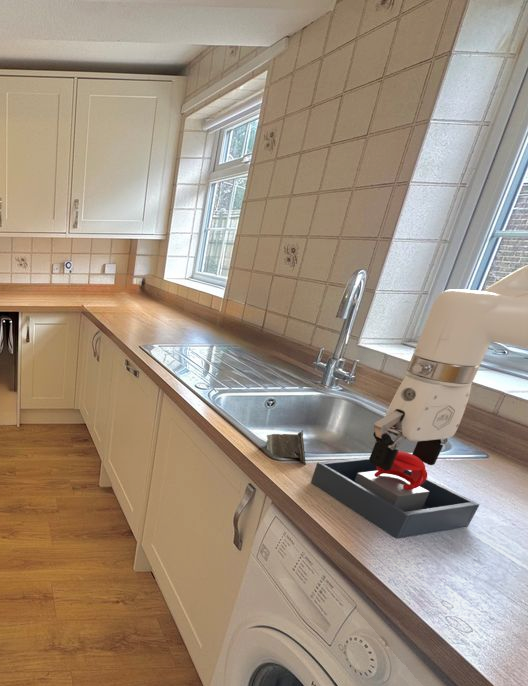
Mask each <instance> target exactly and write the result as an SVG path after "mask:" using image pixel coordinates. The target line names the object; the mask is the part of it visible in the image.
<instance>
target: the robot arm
mask: <svg viewBox="0 0 528 686" xmlns="http://www.w3.org/2000/svg"><path fill="white" fill-rule="evenodd" d="M492 343H496V344H502V345H509V346H514V347H518V348H524V349H528V264H526V265H524V266H522V267H521V268H518V269H516V270H514V271H512V272H511V273H510V274H508V275H506V276H505V277H503V278H501V279H499V280H498V281H495V282H494V283H493V284H491V285H489V286H488V287H486V288H484V289H483V290H471V289H446V290H444V291H441V292H440V293H438V294H437V296H436V297H435V298H434V300H433V304H432V305H431V307H430V310H429V313H428V315H427V318H426V320H425V323H424V326H423V327H422V331H421V333H420V335H419V339H418V341H417V343H416V346H415V348H414V351H413V354H412V355H411V358H410V361H409V364H408V366H407V369H406V371H405V374H406V375H405V377H404V378H403V379H402V381H401V383H400V384H399V386H398V388H397V390H396V392H395V393H394V396H393V398H392V400H391V402H390V404H389V406H388V408H387V411H386V413H385V416H384V417H382V418H380V419H378V420H377V421H375V422H374V424H373V429H374V431H373V434H372V435H373V437H374V439H373V442H374V446H373V448H372V451H371V453H370V455H369V457H370V458H369V462H370V463H372V464H374V465H376V466H378V467H380V468H382V469H384V470H386V471H388V470H390V469H391V467H392V465H393V462H394V460H395V458H396V455H397V453H398V451H399V449H397V448H398V446H400V445H401V444H402V443H403V442H404V441H405V440H409V441H410V442H413V443H415V442H416V444H415V446H414V449H413V451H412V453H411V454H412V455H415V456H416V457H418V458H419V459H421V460H422V461H423V463H424V464H425V465H429V466H435V464H436V463H437V460H438V458H439V456H440V454H441V452H442V450H443V447H444V445H446V444H447V443H448V441H449V438H452V437H454V436H455V434H456V433H457V430H458V428H459V426H460V424H461V422H462V419H463V416H464V414H465V411H466V407H467V405H468V401H469V399H470V395H471V390H472V384H473V382H474V379H475V377H476V375H477V373H478V371H479V369H480V367H481V364H482V362H483V360H484V358H485V355H486V353H487V352H488V350H489V347H490V345H491V344H492ZM391 435H392V436H395V438H393V439H392V437H391Z"/></svg>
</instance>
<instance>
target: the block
mask: <svg viewBox="0 0 528 686" xmlns="http://www.w3.org/2000/svg"><path fill="white" fill-rule="evenodd" d="M377 471H378V470H377ZM377 471H369V472H361V473H357V476H356V478H355V481H354V482H355V483H357V484H359V485H360V486H362V487H364V488H365V489H367V490H369V491H371V492H372V493H374V494H376V495H377V496H379V497H381V498H382V499H384V500H386V501H388V502H389V503H391V504H393V505H394V506H396V507H398V508H399V509H401V510H403V511H405V512H408V511H415V510H421V509H422V507H423V505H424V503H425V501H426V499H427V497H428V494H429V492H430V491H428V490H426V489H424V488H422V487H420V486H419V487H417V488H415V489H410V490H405V489H404V488H403V486H404V485H408V484H410V482H408V481H407V480H405V479H403V478H401V477H399V476H396V475H391V474H381V475H380V476H378V477H375V475H374V474H375V473H376V472H377Z"/></svg>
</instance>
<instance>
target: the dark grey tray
mask: <svg viewBox="0 0 528 686" xmlns="http://www.w3.org/2000/svg"><path fill="white" fill-rule="evenodd" d="M369 458H370V456H364V457H362V456H361V457H355V458H354V457H353V458H346V459H337V460H336V459H335V460H328V461H319V462H316V465H315V469H314V471H313V475H312V477H311V479H310V484H312V485H313V486H315V487H316V488H318V489H319V490H321V491H322V492H323V493H325V494H327V495H328V496H330V497H332V498H333V499H335V501H338V502H339V503H341V504H342V505H344V506H345V507H347V508H348V509H349V510H351V511H353V512H355V513H356V514H357V515H359V516H361V517H362V518H364V519H365V520H367V521H368V522H370V523H371V524H373V525H374V526H376V527H377V528H379V529H380V530H381V531H383V532H384V533H386V534H389V536H391V537H392V538H394V539H395V540H397V539H398V540H399V539H404V538H409V537H417V536H422V535H429V534H434V533H439V532H445V531H452V530H457V529H464V528H469V526H470V524H471V521H473V518H474V516H475V514H476V513H477V510H478V508H479V507H480V503H478V502H476V501H474V500H472V499H470V498H468V497H466V496H464V495H462V494H459V493H458V492H455V491H453V490H452V489H450V488H448V487H445V486H444V485H442V484H439V483H438V482H436V481H433V480H432V479H429V478H428V477H427V479H426V481H425V482H424V483H423V484H422V485H420V487H422V488H424V489H426V490H428V491H430V492H429V494H428V497H427V499H426V501H425V503H424V505H423V507H422V509H421V510H415V511H408V512H405V511H403V510H401V509H399V508H398V507H396V506H394V505H393V504H391V503H389V502H388V501H386V500H384V499H382V498H381V497H379V496H377V495H376V494H374V493H372V492H371V491H369V490H367V489H365V488H364V487H362V486H360V485H359V484H357V483H355V482H354V481H355V478H356V476H357V473H361V472H369V471H377V466H376V465H374V464H372V463H370V462H369ZM402 473H404V474H407V475H408V476H410V477H411V470H405V471H404V472H402Z"/></svg>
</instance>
